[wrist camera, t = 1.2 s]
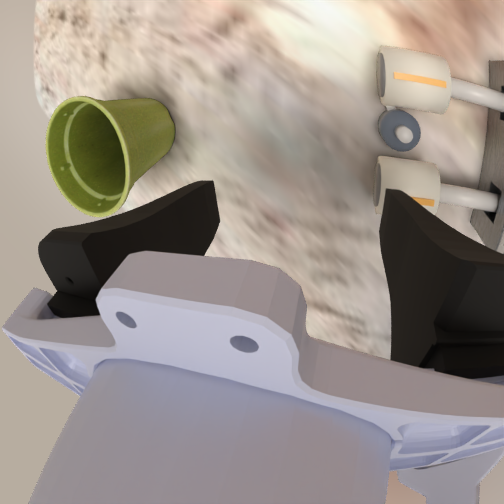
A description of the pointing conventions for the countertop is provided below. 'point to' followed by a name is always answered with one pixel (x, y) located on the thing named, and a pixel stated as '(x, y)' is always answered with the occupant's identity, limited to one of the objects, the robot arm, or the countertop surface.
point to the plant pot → (105, 149)
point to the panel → (493, 169)
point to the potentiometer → (399, 129)
